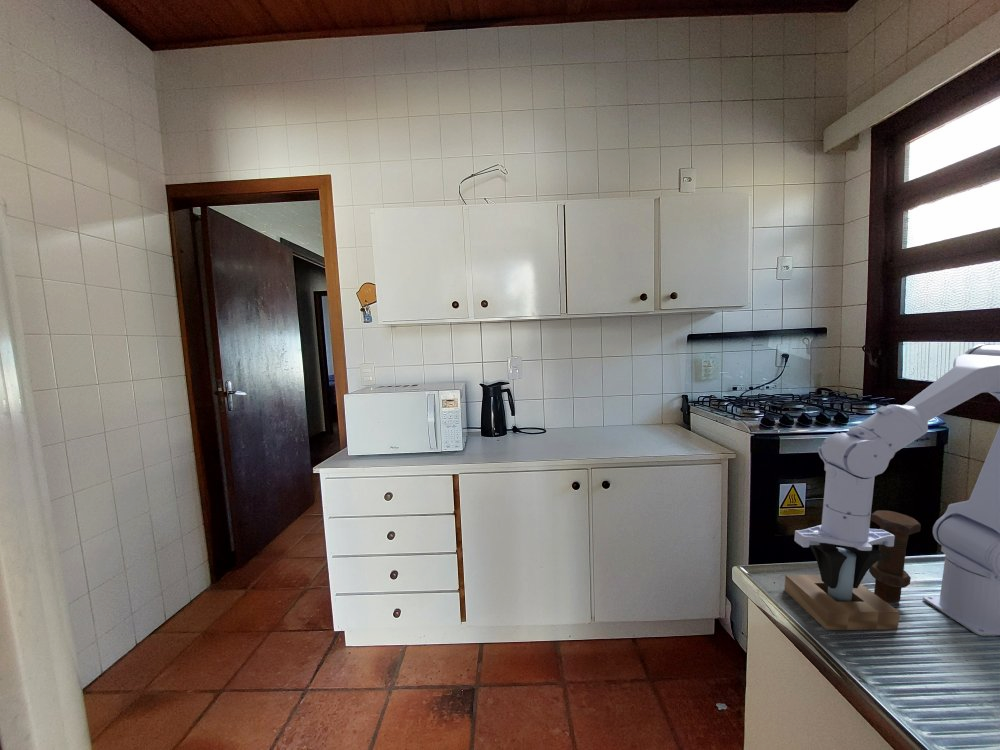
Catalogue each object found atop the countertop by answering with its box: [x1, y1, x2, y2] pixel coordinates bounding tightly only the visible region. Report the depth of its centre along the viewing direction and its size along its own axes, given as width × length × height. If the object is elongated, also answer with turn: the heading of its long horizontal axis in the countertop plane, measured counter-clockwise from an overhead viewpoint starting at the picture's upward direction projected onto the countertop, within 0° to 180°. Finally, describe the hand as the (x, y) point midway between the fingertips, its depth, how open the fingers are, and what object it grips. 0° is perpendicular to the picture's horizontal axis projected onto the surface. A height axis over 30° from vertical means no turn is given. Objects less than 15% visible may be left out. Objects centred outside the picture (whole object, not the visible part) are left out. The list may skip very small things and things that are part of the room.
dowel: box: [827, 546, 856, 602], centre depth 62 cm, size 3×3×10 cm
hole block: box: [783, 574, 900, 631], centre depth 63 cm, size 11×9×3 cm
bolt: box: [868, 509, 922, 604], centre depth 65 cm, size 6×5×15 cm
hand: (839, 584), depth 63 cm, fingers closed on dowel, 3 cm apart
